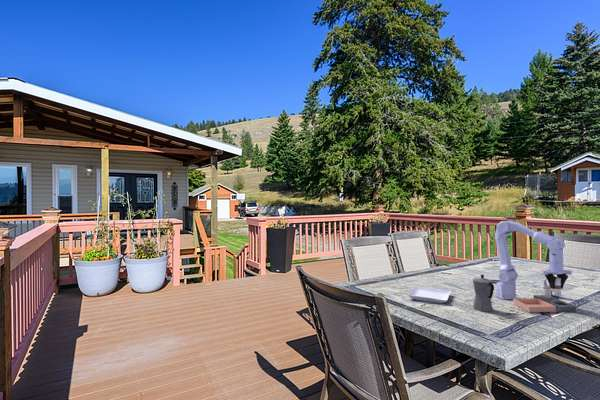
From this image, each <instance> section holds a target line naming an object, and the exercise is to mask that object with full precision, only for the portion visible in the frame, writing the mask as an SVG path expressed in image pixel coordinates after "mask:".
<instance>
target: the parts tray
mask: <svg viewBox="0 0 600 400" xmlns="http://www.w3.org/2000/svg"><path fill="white" fill-rule="evenodd" d="M512 300H513V303H512V304H513V305H514V306H515V307H518V308H519V309H521V310H523V311H525V312H527V313H528V314H534V313H535V314H536V313H537V312H538V313H539V312H550V313H557V310H556V306H554V305H552V304H549V303H547V302H545V301H543V300H540V299H538V298H535V299H534V298H519V299H512Z"/></svg>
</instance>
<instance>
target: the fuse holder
mask: <svg viewBox="0 0 600 400" xmlns="http://www.w3.org/2000/svg"><path fill="white" fill-rule="evenodd" d="M535 298H538V299H540V300H543V301H545V302H547V303H549V304H552V305H554V306H556V311H557V310H558V311H557V312H559V311H560V312H559V313H562V312H563V313H573V312H575V313H576V312H577V306H576V305H574V304H570V303H568V302H565V300H561V299H559V298H554V297H552V296H551V299H544V298H543V294H539V295H538V294H535V295H533V299H535Z"/></svg>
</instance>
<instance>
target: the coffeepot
mask: <svg viewBox="0 0 600 400" xmlns="http://www.w3.org/2000/svg"><path fill="white" fill-rule="evenodd" d="M472 284H473V289H474V293H475V295H474V298H473V299H474V300H473V305H472V306H473V310H475V311H478V312H483V313H490V312H493V309H494V308H493V303H492V298H493V294H494V291H495V285H494V282H493V280H492V279H488V278H485V275H484V274H480V277H474V278H472Z"/></svg>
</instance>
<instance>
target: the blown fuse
mask: <svg viewBox="0 0 600 400" xmlns="http://www.w3.org/2000/svg"><path fill="white" fill-rule="evenodd" d="M555 277H556V279H555V288H554V289H551V290H552V295H554V296H559V297H562V289H561V278H559V277H557V276H555Z"/></svg>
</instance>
